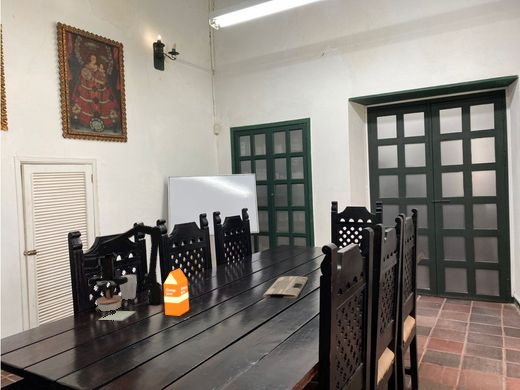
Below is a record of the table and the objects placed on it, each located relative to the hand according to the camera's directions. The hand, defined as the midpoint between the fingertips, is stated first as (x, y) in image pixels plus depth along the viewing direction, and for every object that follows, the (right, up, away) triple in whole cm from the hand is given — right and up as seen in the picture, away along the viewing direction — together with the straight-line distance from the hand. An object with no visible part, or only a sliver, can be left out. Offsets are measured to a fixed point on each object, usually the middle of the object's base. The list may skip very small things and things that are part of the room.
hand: (109, 297), depth 195 cm
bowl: (0, -6, 0) cm, 6 cm away
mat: (+9, -6, -12) cm, 16 cm away
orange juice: (+36, -4, -10) cm, 38 cm away
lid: (0, -1, 0) cm, 1 cm away
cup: (+4, -5, +17) cm, 18 cm away
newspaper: (+90, -1, +22) cm, 92 cm away
